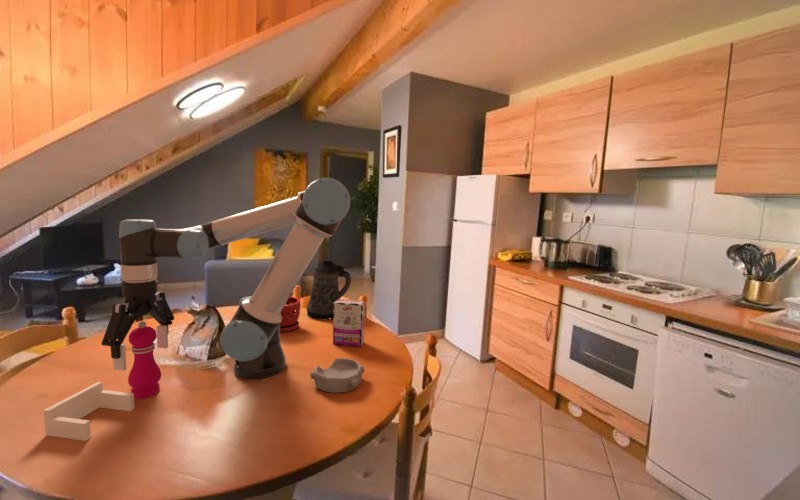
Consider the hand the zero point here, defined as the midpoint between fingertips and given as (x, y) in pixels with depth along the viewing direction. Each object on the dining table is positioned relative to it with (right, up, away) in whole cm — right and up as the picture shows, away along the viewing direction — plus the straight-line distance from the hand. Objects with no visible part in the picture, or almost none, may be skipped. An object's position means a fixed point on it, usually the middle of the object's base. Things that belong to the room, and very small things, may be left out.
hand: (142, 357), depth 95 cm
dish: (+50, -11, +12) cm, 53 cm away
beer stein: (+34, -2, +74) cm, 82 cm away
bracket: (-4, -11, -11) cm, 16 cm away
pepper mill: (0, -10, +1) cm, 10 cm away
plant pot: (+20, -4, +53) cm, 57 cm away
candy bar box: (+49, -7, +41) cm, 64 cm away
